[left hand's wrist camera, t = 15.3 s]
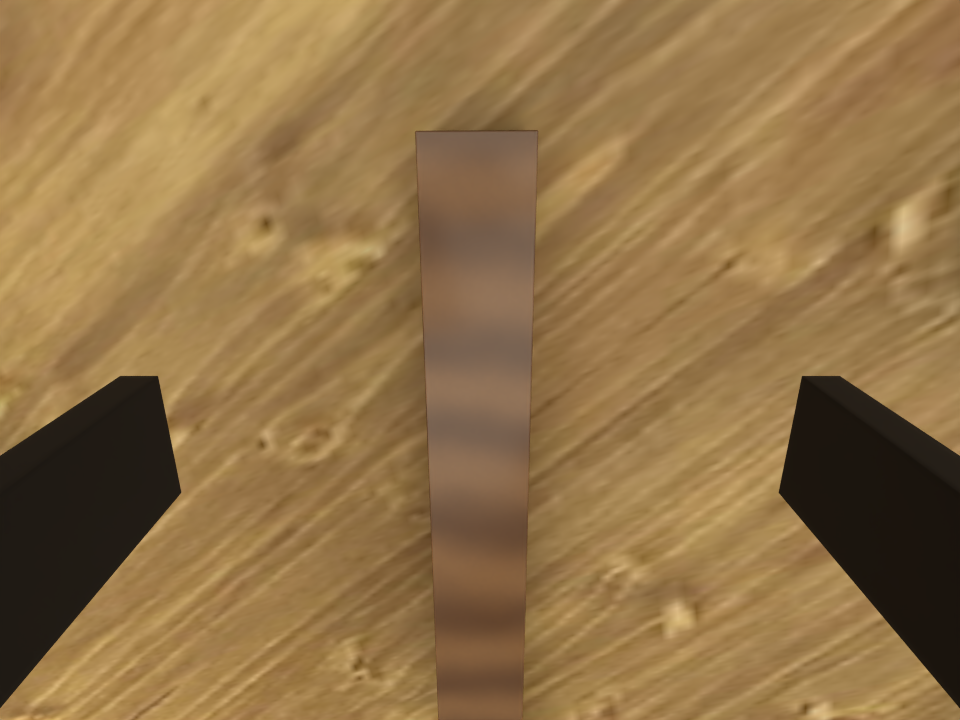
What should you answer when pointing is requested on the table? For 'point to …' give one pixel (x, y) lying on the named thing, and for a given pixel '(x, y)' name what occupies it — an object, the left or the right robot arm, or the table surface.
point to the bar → (478, 406)
